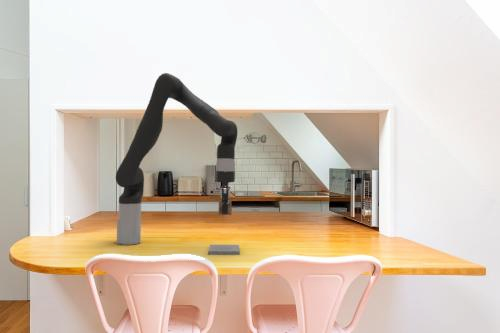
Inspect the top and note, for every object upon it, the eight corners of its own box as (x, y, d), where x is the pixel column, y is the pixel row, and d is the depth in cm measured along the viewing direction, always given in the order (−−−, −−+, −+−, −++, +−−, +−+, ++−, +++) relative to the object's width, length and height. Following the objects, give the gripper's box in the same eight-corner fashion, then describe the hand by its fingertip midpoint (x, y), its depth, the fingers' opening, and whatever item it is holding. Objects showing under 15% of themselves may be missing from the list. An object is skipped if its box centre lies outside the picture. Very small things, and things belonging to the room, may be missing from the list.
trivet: (208, 254, 147) (208, 251, 147) (209, 247, 159) (209, 244, 159) (239, 254, 148) (239, 251, 148) (239, 247, 160) (239, 244, 160)
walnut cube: (218, 214, 151) (218, 201, 151) (218, 213, 156) (219, 200, 156) (231, 214, 151) (231, 202, 151) (231, 213, 156) (231, 200, 156)
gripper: (216, 169, 160) (216, 210, 160) (215, 170, 146) (214, 215, 146) (234, 170, 161) (234, 210, 161) (235, 170, 146) (234, 215, 147)
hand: (224, 212), depth 154 cm, fingers closed on walnut cube, 5 cm apart
